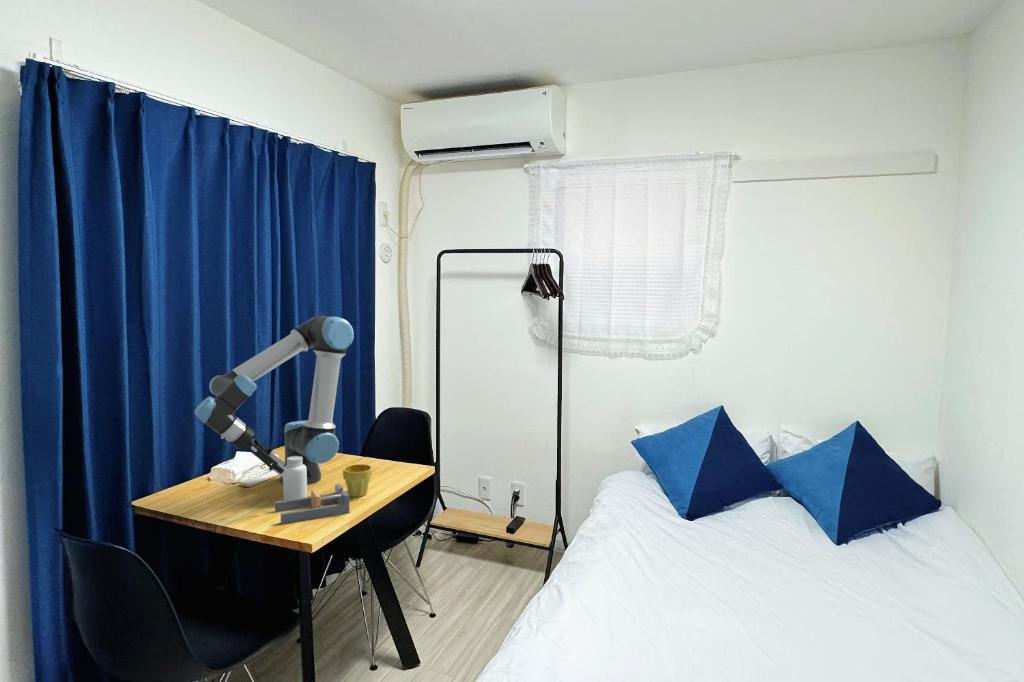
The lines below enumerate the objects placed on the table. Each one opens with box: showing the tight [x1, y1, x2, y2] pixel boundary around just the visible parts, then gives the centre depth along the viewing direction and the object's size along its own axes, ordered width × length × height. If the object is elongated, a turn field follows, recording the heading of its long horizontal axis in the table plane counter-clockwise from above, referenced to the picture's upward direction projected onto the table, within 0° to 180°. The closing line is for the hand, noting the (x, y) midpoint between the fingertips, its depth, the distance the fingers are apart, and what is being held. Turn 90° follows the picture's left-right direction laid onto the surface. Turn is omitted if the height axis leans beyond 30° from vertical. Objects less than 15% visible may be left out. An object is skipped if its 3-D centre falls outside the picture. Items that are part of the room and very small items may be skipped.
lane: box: [274, 483, 350, 525], centre depth 197 cm, size 22×13×6 cm, turn 120°
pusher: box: [310, 488, 341, 508], centre depth 200 cm, size 10×9×6 cm
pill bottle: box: [282, 456, 308, 501], centre depth 208 cm, size 8×8×15 cm
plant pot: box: [342, 463, 373, 498], centre depth 215 cm, size 10×10×10 cm
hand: (286, 471), depth 206 cm, fingers open, 13 cm apart
